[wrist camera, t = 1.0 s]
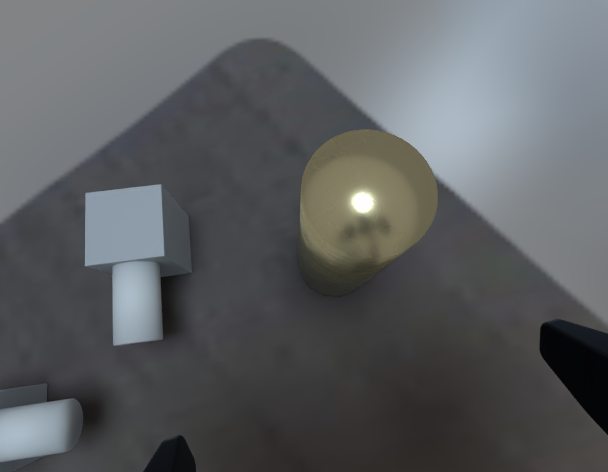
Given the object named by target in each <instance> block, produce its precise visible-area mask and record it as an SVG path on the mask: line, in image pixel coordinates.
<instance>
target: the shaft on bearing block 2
mask: <svg viewBox="0 0 608 472" xmlns="http://www.w3.org/2000/svg"><path fill="white" fill-rule="evenodd" d="M85 266H87V267H90V268H93V269H96V270H99V271H102V272H105V273H108V274H111V275H112V280H113V346H119V345H128V344H137V343H144V342H151V341H158V340H163V325H162V302H161V278H160V277H166V276H173V275H181V274H188V273H192V264H191V248H190V232H189V217H188V215H187V213H186V212H185V211H184V210H183V209H182V208H181V207H180V205H179V204H178V203H177V202H176V201H175V200H174V199H173V197H172V196H171V195H170V194H169V193H168V192H167V191H166V189H165V188H164V187H163V186H162V185H161V184H160V185H152V186H143V187H135V188H126V189H117V190H109V191H100V192H92V193H86V215H85Z"/></svg>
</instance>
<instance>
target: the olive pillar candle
mask: <svg viewBox="0 0 608 472" xmlns="http://www.w3.org/2000/svg"><path fill="white" fill-rule="evenodd" d="M437 203H438V192H437V185H436V181H435V177H434V175H433V172H432V170H431V168H430V166H429V165H428V163H427V161H426V160H425V159H424V157H423V156H422V155H421V154H420V153H419V152H418V151H417V150H416V149H415V148H414V147H413V146H412V145H410V144H409V143H407V142H406V141H404V140H403V139H401V138H399V137H397V136H395V135H392V134H389V133H386V132H382V131H377V130H355V131H350V132H346V133H343V134H340V135H338V136H335V137H334V138H332V139H330V140H328V141H327V142H326V143H324V144H323V145H322V146H321V147H320V148H319V149H318V150H317V151H316V152H315V153H314V154H313V156H312V157H311V159H310V160H309V162H308V164H307V166H306V168H305V171H304V174H303V178H302V185H301V204H300V227H299V249H298V266H299V270H300V273H301V276H302V278H303V279H304V281H305V282H306V283H307V285H308V286H309V287H310V288H312V289H313V290H314V291H316V292H318V293H320V294H323V295H326V296H332V297H337V296H343V295H347V294H349V293H351V292H353V291H354V290H356V289H357V288H359V287H360V286H361V285H362V284H364V283H365V282H366V281H368V280H369V279H370V278H371V277H373V276H374V275H375V274H377V273H378V272H379V271H381V270H382V269H383V268H384V267H386V266H387V265H388V264H390V263H391V262H392V261H393V260H395V259H396V258H397V257H399V256H400V255H401V254H402V253H404V252H405V251H406V250H408V249H409V248H410V247H412V246H413V245H414V244H415V243H416V242H418V241H419V240H420V239H421V238H422V237H423V236H424V234H425V233H426V232H427V230H428V229H429V227H430V226H431V224H432V221H433V219H434V217H435V213H436V210H437Z"/></svg>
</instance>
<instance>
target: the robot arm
mask: <svg viewBox="0 0 608 472" xmlns="http://www.w3.org/2000/svg"><path fill="white" fill-rule="evenodd" d="M540 353H541V355H542V357H543V359H544V360H545V361H546V363H547V364H548V365H549V366H550V368H551V369H552V370H553V371H554V373H555V374H556V375H557V376H558V378H559V379H560V380H561V381H562V383H563V384H564V385H565V386H566V388H567V389H568V390H569V391H570V393H571V394H572V395H573V396H574V398H575V399H576V400H577V401H578V403H579V404H580V405H581V406H582V407H583V409H584V410H585V411H586V412H587V413H588V414H589V415H590V417H591V418H592V419H593V420H594V421H595V422H596V423H597V424H598V425H599V426H600V427H601V428H602V429H603V430H604V431H605V433H606V434H607V435H608V333H604V332H601V331H598V330H594V329H591V328H588V327H584V326H581V325H578V324H574V323H571V322H568V321H564V320H561V319H555V320H552V321H549V322H545V323H543V324H542V326H541V328H540ZM143 472H196V465H195V460H194V457H193V455H192V453H191V451H190V449H189V447H188V445H187V443H186V440H185V439H184V437H183V436H181V435H178V436H175V437H172V438H169V439H166V440H164V441H163V442H162V443H161V445H160V446H159V448H158V449H157V451H156V452H155V454H154V456H153V457H152V459H151V460H150V462H149V463H148V465H147V467H146V468H145V470H144V471H143Z"/></svg>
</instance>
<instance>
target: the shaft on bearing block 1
mask: <svg viewBox="0 0 608 472" xmlns="http://www.w3.org/2000/svg"><path fill="white" fill-rule="evenodd" d="M47 386H48V383H44V384H37V385H30V386H24V387H17V388H10V389H3V390H0V472H13V471H15V470H17V469H19V468H21V467H23V466H25V465H27V464H29V463H31V462H33V461H36V460H38V459H40V458H42V457H44V456H45V455H50V454H57V453H63V452H68V451H70V450H72V449H73V448H74V447H75V445H76V444H77V442H78V440H79V438H80V435H81V432H82V427H83V411H82V407H81V405H80V403H79V402H78V401H77V400H76V399H74V398H71V399H65V400H58V401H51V402H47Z"/></svg>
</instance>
